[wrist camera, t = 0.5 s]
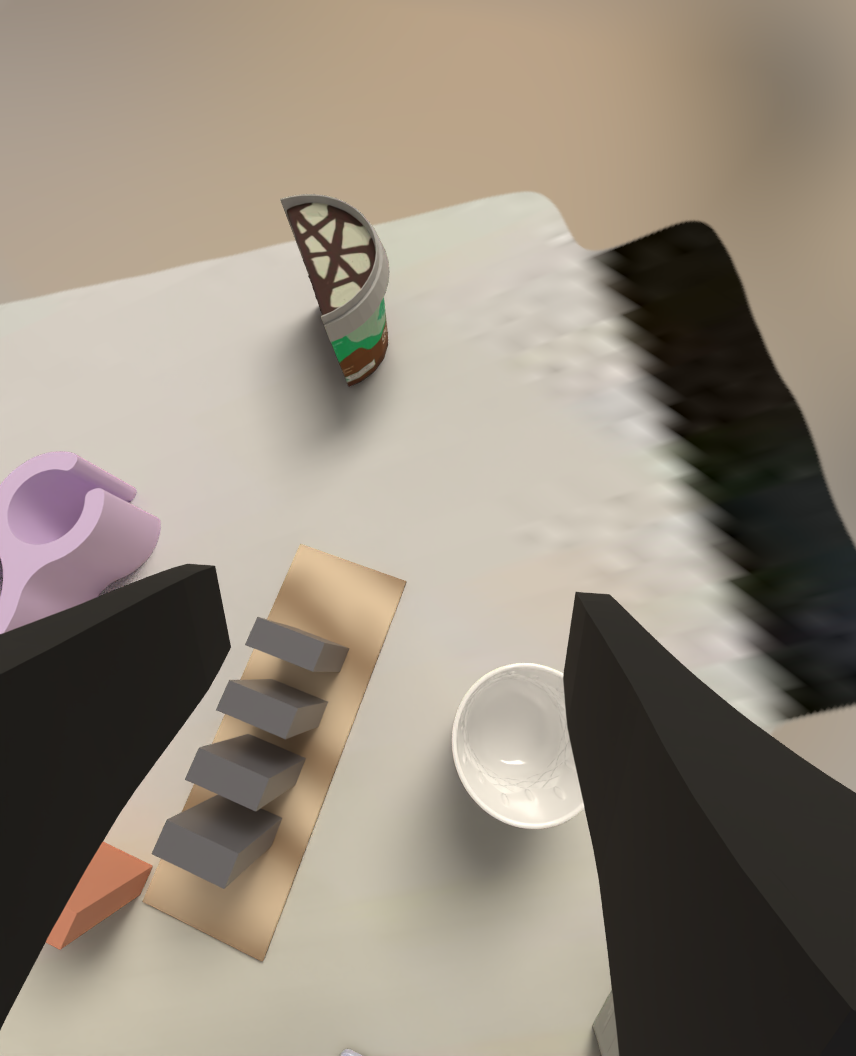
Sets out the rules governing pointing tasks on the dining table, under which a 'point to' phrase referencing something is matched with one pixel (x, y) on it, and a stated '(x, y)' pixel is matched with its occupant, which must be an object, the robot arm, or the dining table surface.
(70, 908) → the rust domino
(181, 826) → the domino
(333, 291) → the food container
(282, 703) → the domino
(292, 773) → the domino
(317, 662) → the domino
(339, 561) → the cork strip
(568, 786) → the white cup
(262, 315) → the dining table surface
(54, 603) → the clip
